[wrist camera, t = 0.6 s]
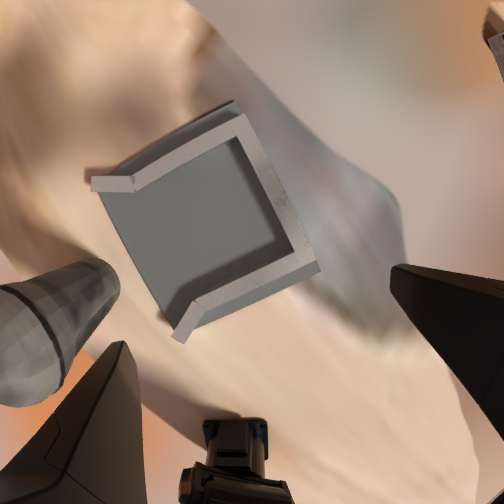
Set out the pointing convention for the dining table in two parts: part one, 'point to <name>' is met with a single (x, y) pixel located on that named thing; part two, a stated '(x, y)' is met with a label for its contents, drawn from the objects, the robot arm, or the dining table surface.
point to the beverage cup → (50, 327)
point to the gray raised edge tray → (200, 224)
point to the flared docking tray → (274, 190)
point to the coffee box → (498, 50)
